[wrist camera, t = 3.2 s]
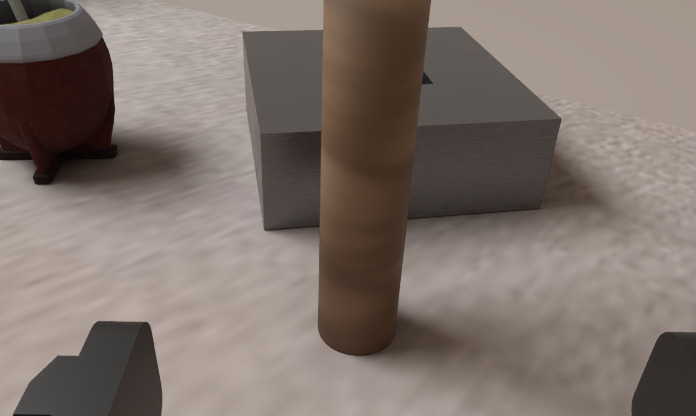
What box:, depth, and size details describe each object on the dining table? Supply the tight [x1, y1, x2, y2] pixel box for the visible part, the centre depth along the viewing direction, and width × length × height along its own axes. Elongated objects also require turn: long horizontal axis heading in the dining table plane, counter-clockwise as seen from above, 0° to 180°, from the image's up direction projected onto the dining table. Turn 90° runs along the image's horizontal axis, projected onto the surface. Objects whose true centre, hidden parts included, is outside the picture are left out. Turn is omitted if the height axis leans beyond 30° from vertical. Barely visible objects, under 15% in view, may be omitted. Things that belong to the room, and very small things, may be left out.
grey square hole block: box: [243, 27, 561, 230], centre depth 35 cm, size 14×14×5 cm
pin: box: [318, 0, 431, 355], centre depth 20 cm, size 3×3×16 cm
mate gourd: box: [0, 0, 117, 184], centre depth 31 cm, size 8×8×15 cm
